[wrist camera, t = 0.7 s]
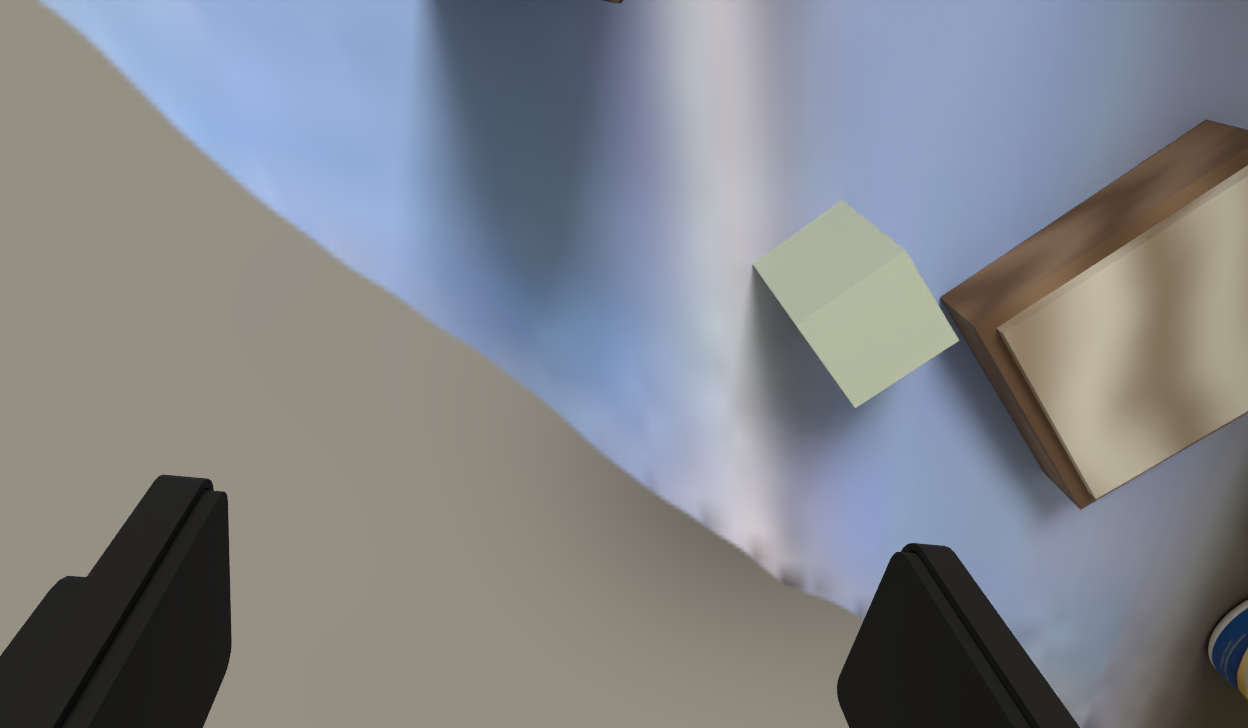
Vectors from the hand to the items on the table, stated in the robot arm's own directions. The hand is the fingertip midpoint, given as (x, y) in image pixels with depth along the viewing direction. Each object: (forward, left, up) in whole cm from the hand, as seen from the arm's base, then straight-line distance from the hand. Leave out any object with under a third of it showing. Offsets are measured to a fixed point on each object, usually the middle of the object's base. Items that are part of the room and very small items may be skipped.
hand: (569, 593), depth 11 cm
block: (-7, +12, -26) cm, 30 cm away
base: (-18, +24, -26) cm, 40 cm away
